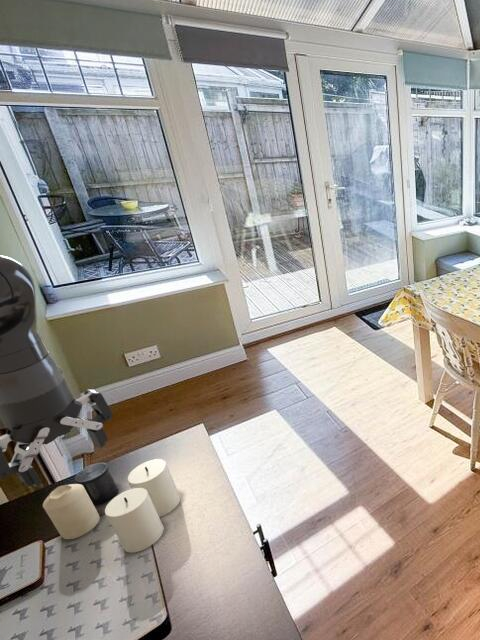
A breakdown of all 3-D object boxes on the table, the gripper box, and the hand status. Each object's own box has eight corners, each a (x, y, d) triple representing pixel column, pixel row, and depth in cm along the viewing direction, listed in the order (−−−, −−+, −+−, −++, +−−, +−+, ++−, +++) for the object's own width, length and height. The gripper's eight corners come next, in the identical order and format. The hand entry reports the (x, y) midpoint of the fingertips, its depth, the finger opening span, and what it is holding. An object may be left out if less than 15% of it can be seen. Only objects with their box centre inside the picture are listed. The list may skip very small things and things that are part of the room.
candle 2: (137, 521, 83) (118, 482, 78) (153, 495, 88) (136, 457, 83) (172, 515, 84) (155, 477, 79) (185, 490, 89) (170, 453, 85)
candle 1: (107, 517, 83) (88, 482, 79) (74, 543, 78) (52, 507, 74) (87, 510, 84) (68, 475, 80) (54, 535, 79) (31, 499, 75)
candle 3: (116, 555, 76) (94, 515, 72) (134, 525, 82) (115, 486, 77) (154, 549, 78) (134, 509, 73) (169, 520, 83) (152, 481, 79)
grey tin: (82, 508, 85) (68, 484, 82) (97, 488, 89) (85, 464, 86) (110, 503, 86) (97, 480, 83) (124, 484, 90) (112, 460, 87)
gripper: (71, 355, 70) (105, 428, 76) (-57, 408, 57) (-3, 490, 64) (99, 366, 67) (132, 440, 74) (-28, 423, 55) (25, 506, 62)
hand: (69, 463), depth 69 cm, fingers open, 8 cm apart
